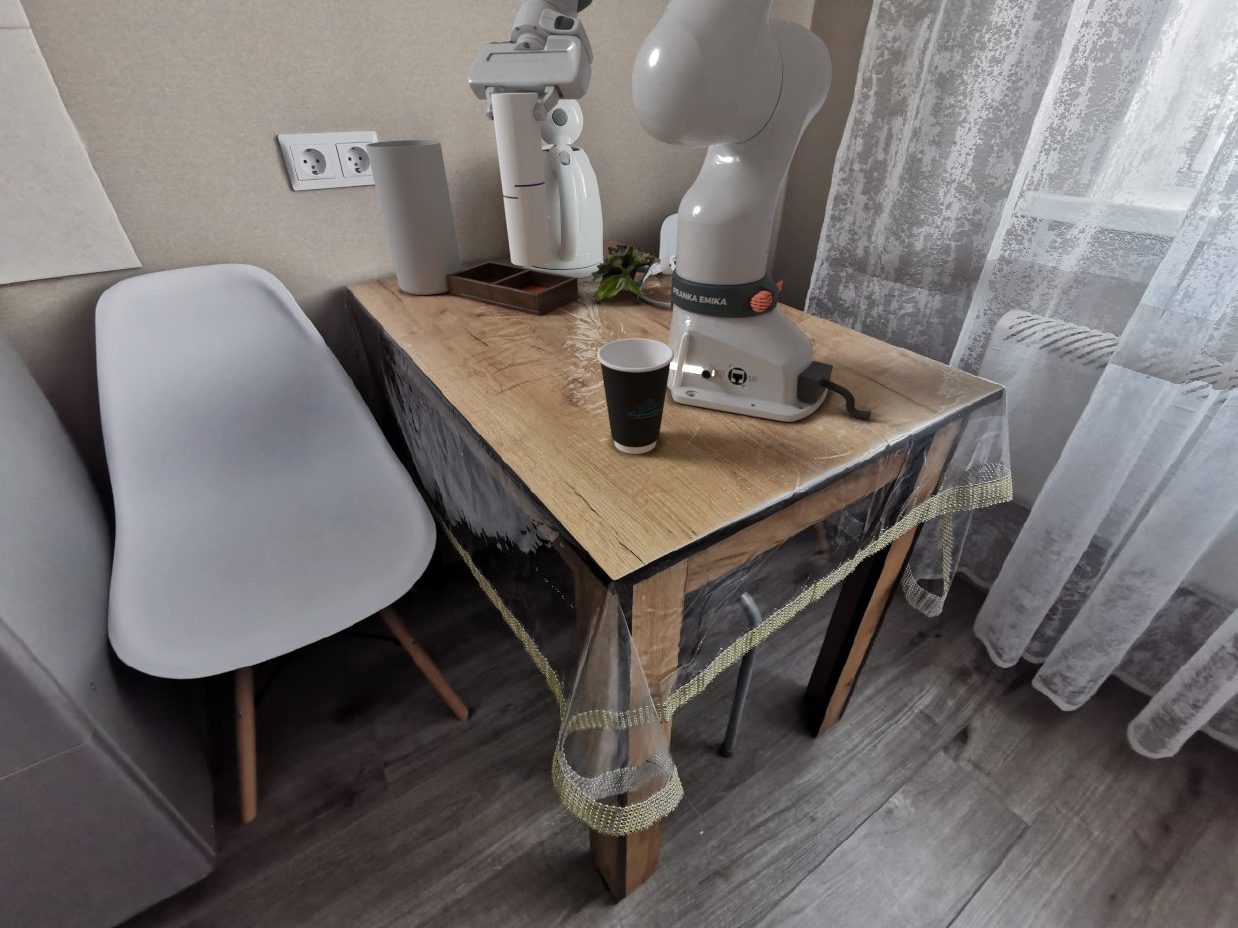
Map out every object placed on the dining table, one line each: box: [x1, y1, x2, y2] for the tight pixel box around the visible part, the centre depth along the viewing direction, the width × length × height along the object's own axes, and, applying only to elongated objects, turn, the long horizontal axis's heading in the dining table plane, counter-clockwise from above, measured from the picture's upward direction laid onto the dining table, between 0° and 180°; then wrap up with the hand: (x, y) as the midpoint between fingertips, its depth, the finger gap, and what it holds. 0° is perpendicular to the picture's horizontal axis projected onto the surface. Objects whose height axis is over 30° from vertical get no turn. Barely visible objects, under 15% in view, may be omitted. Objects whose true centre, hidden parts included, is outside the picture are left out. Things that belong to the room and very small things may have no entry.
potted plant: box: [591, 243, 656, 304], centre depth 103 cm, size 11×11×12 cm
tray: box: [446, 260, 579, 316], centre depth 106 cm, size 22×12×4 cm, turn 57°
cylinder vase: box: [365, 139, 463, 296], centre depth 105 cm, size 12×12×25 cm
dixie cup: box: [596, 337, 674, 455], centre depth 61 cm, size 8×8×11 cm
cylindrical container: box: [491, 93, 552, 267], centre depth 93 cm, size 7×7×25 cm
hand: (515, 117), depth 87 cm, fingers closed on cylindrical container, 7 cm apart
